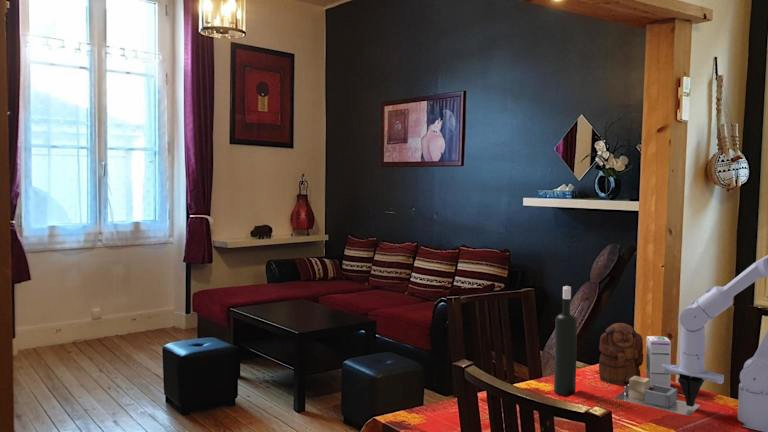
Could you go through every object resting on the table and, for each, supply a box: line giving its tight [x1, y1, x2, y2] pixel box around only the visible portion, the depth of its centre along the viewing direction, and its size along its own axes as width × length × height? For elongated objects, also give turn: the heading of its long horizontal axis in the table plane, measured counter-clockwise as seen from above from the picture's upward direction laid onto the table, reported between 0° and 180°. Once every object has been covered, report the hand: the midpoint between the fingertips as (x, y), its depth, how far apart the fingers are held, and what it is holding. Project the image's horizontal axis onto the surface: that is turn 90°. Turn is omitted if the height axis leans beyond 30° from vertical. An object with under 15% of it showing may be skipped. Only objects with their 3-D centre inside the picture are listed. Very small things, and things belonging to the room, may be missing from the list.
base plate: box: [613, 384, 701, 417], centre depth 168 cm, size 19×10×4 cm, turn 49°
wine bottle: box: [553, 285, 578, 397], centre depth 177 cm, size 6×6×30 cm
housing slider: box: [644, 384, 679, 407], centre depth 168 cm, size 6×7×3 cm
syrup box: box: [645, 335, 672, 388], centre depth 182 cm, size 6×6×14 cm
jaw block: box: [629, 376, 651, 401], centre depth 171 cm, size 4×4×5 cm
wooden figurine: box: [598, 322, 644, 386], centre depth 185 cm, size 12×6×18 cm, turn 98°
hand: (690, 405), depth 163 cm, fingers closed
